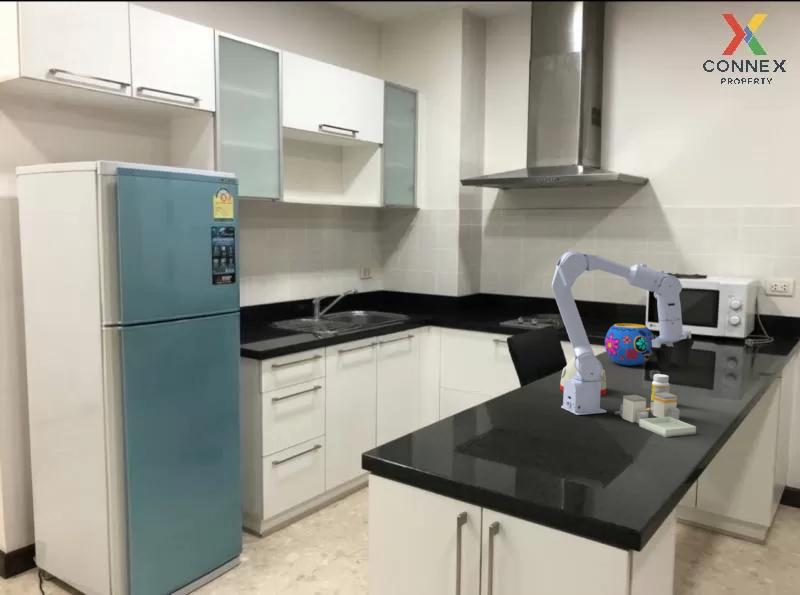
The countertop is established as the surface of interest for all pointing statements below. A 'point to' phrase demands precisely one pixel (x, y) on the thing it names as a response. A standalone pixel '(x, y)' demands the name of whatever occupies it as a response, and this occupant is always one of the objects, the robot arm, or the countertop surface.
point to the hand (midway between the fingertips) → (674, 369)
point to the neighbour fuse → (633, 407)
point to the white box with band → (663, 403)
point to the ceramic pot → (629, 344)
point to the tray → (667, 426)
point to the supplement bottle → (659, 385)
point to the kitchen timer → (570, 372)
